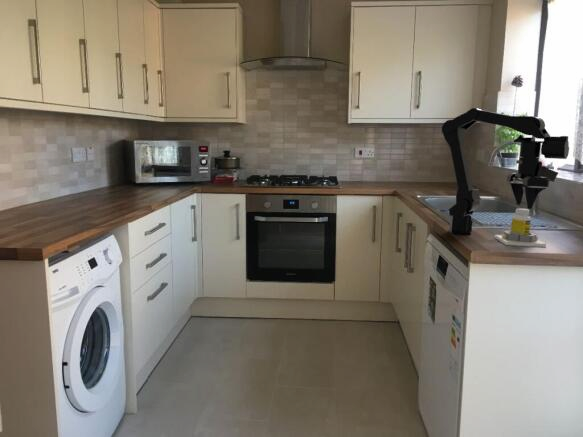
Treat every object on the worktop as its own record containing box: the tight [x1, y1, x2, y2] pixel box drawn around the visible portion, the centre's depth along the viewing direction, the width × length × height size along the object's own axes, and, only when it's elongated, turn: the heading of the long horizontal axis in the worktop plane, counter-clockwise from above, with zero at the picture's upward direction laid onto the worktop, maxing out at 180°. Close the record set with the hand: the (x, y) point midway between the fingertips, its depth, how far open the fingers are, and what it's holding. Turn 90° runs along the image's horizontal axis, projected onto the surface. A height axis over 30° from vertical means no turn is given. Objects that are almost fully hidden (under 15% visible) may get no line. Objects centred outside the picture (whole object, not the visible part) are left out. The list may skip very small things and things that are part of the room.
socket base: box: [493, 229, 547, 248], centre depth 151 cm, size 12×11×3 cm
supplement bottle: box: [510, 207, 532, 235], centre depth 150 cm, size 5×5×10 cm
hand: (523, 206), depth 149 cm, fingers open, 9 cm apart
